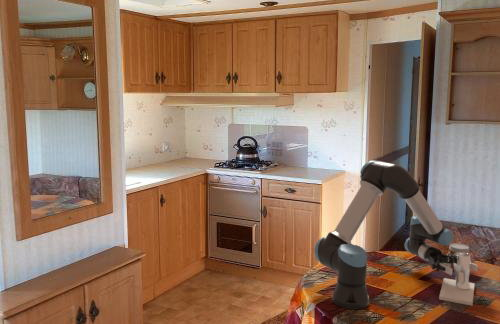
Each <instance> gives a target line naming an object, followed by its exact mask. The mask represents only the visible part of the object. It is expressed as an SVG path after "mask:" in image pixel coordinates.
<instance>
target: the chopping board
mask: <svg viewBox="0 0 500 324" xmlns="http://www.w3.org/2000/svg"><path fill="white" fill-rule="evenodd" d="M455 282H456V279H452V278H451V279H450V278H446V277H444V278H443V281H442V285H441V287H440V288H441V289H440V291H439V296H438V299H439V300H440V301H447V302H451V303H456V304H461V305H467V306H473V303H474V294H475V293H474V292H475V282H474V283H473V282H470V281H469V285H470V288H469V289H466V290H463V289H458V288H456V287H455Z"/></svg>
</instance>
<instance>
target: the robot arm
mask: <svg viewBox="0 0 500 324" xmlns="http://www.w3.org/2000/svg"><path fill="white" fill-rule="evenodd" d="M359 174H360V176H359V177H360V180H359V185H360V187H359V189H358V190H357V192H356V194H355V195H354V197H353V199H352V201H351V202H350V204H349V205H348V207H347V209H346V210H345V212H344V214H343V216H342V217H341V219H340V220H339V222H338V223H337V225H336V227H335V229H334V230H332V231H330V232H328V233H327V235H326V237H323V236H322V237H321V238H319V239H318V240H317V242H316V243H315V245H314V250H313V251H314V255H315V256H314V258H315V259H316V261H318V262H319V263H320V264H321V265H323V266H325V267H328V269H331V270H333V271H334V272H336V273H337V276H336V277H337V278H336V279H337V280H336V281H337V282H336V285H335V288H334V289H333V293H332V299H331V300H332V302H333V304H334V305H336V306H338V307H340V308H343V309H346V310H348V309H349V310H361V309H365V308H367V307H368V306H369V304H370V296H369V294H368V290H367V286H366V282H367V281H366V279H367V266H368V265H367V264H368V258H367V257H368V254H367V251H366V250H365V249H364V248H363V247H362V246H360V245H357V244H352V240H353V239H354V237H355V235H356V234H357V232H358V230H359V228H360V227H361V225H362V224H363V221H365V218H366V217H367V215H368V213H369V212H370V210H371V209H372V206H373V205H374V203H375V201H376V200H377V198H378V197H380V196H383V195H384V193H385V192H386V190H388V191H391V192H393V193H396V194H397V196H398V197H399V198H400V199H402V200H404V201H405V203H406V204H407V205H408V207H409V208H410V210H411V212H412V213H413V214H414V216H411V217H410V224H409V226H410V228H409V237H408V238H407V239H405V241H404V249H405V250H406V251H407V252H409V253H410V254H412V255H413V256H414V255H415V256H416V257H418V258H420V259H422V260H424V261H425V262H426V263H427V264H428V265H429V266H430V268H431V269H432V270H435V271H436V272H439V271H442V272H444V273H446V274H447V275H449V276H453V271H454V270H453V269H452V268H451V266H450V267H449V266H447V265H445V264H450V265H451V263H454V255H452V254H450V253H447V254H444V253H443V252H442V251H441V249H440V248H437V247H435V246H433V245H431V244H428V243H426V241H431V242H434V243H436V244H439V245H443V246H450V244H452V243H453V241H454V233H453V231H452V230H450V229H448V228H445V226H443V224H442V221H440V219H439V218H438V216H437V215H436V214H435V212H434V211H433V209H432V207H431V206H430V204H429V203H428V201H427V200H426V198H425V197H424V195H423V193H422V192H421V190H420V189H421V187H420V184H419V183H418V182H417V180H416V179H415V178H414V176H413V175H412V174H411V173H410V172H409V171H408V170H407V169H406V168H405V167H403V166H401V165H399V164H396V163H391V162H385V161H381V160H369V161H367V162H366V163H364V165H362V167H361V169H360V173H359ZM470 270H471V271H474V272H478V264H476V263H473V262H471V268H470Z"/></svg>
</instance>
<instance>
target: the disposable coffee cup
mask: <svg viewBox="0 0 500 324" xmlns="http://www.w3.org/2000/svg"><path fill="white" fill-rule="evenodd" d="M448 246H449V247H448V248H449V254H452V255H454V253H457V252H464V253H468V254H470V251H471V249H470V247H469V245H467V244H463V243H458V242H457V243H455V242H454V243H453V242H452V243H451V244H449V245H448ZM450 268H452V269H453V271H454V263H450Z"/></svg>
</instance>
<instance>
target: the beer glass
mask: <svg viewBox="0 0 500 324" xmlns="http://www.w3.org/2000/svg"><path fill="white" fill-rule="evenodd" d="M471 263H472V262H471V254H470V253H464V252H457V253H454V270H453V271H454V275H455V280H456V282H455V287H456V288H458V289H463V290H466V289H469V288H470V285H469V282H470V273H471V269H470V268H471Z"/></svg>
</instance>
